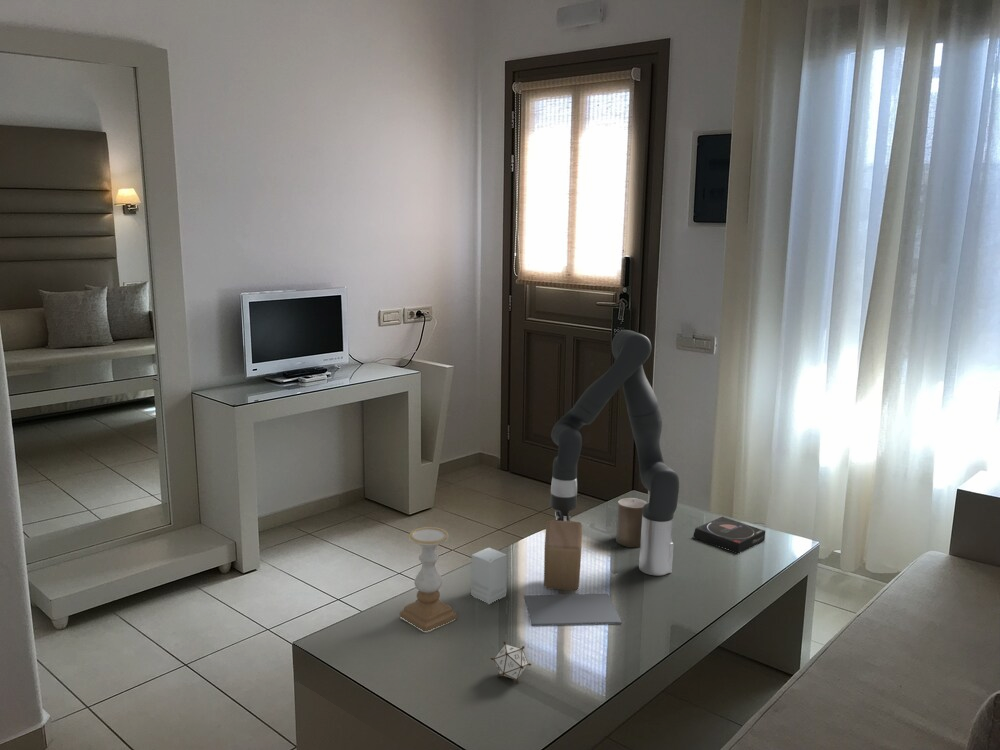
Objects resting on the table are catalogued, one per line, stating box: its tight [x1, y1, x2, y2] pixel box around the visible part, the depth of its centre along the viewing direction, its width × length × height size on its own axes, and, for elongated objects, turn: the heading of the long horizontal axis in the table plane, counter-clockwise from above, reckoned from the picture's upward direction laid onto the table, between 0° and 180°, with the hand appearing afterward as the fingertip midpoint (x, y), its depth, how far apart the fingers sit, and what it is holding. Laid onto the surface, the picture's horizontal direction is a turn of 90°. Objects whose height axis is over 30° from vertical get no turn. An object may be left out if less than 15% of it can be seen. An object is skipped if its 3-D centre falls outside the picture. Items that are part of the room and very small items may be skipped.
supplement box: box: [470, 547, 508, 605], centre depth 224 cm, size 7×7×13 cm
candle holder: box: [399, 526, 457, 631], centre depth 210 cm, size 11×11×24 cm
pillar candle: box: [615, 497, 648, 548], centre depth 264 cm, size 10×10×15 cm
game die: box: [490, 640, 532, 684], centre depth 186 cm, size 9×8×10 cm
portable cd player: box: [692, 516, 766, 554], centre depth 269 cm, size 16×17×4 cm
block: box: [543, 519, 583, 592], centre depth 227 cm, size 10×10×20 cm
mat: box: [523, 592, 623, 627], centre depth 219 cm, size 24×16×1 cm, turn 95°
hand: (561, 547), depth 235 cm, fingers closed
